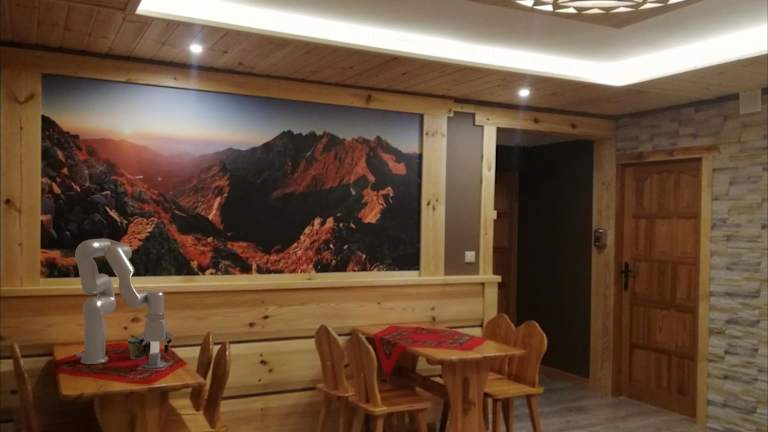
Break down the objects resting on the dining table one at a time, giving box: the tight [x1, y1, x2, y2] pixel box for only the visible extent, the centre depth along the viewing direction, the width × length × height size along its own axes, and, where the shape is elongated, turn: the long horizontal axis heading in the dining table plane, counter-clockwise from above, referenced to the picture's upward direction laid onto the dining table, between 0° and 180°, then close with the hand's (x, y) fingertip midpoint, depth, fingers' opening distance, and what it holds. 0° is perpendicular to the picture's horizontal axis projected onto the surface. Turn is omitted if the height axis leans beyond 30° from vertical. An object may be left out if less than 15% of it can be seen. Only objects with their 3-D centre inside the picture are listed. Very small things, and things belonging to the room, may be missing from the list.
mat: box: [136, 362, 173, 371], centre depth 326 cm, size 13×13×1 cm
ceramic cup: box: [127, 336, 148, 361], centre depth 339 cm, size 13×10×10 cm
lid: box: [141, 352, 168, 369], centre depth 326 cm, size 11×11×6 cm
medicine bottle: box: [145, 341, 160, 356], centre depth 353 cm, size 7×7×12 cm
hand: (156, 352), depth 326 cm, fingers open, 9 cm apart
